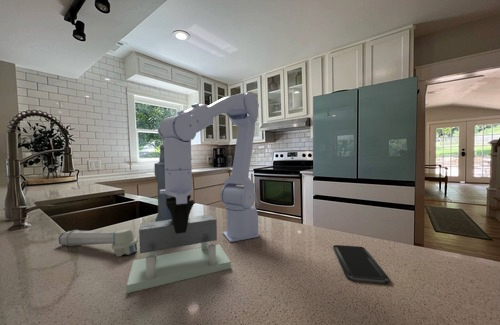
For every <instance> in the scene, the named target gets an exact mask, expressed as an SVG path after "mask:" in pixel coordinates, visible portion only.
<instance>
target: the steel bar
mask: <svg viewBox="0 0 500 325" xmlns="http://www.w3.org/2000/svg"><path fill="white" fill-rule="evenodd" d="M217 228H218V226H217V218H216V217H215V215H214V214H206V215H197V216H189V219H188V225H187V230H186V232H185V233H178V234H176V232H175V229H174V224H173V219H172V220H164V221H156V222H155V221H152V222H151V221H149V222H144V223H142V222H141V223H140V225H139V228H138V234H139V235H138V242H139V254H140V255H141V254H148V253H149V252H153V251H156V252H159V251H163V250H169V249H175V248H180V247H185V246H191V245H197V244H201V243H204V242H214V241H217V240H218V237H217V234H218V233H217V232H218V230H217Z"/></svg>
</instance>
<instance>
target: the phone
mask: <svg viewBox="0 0 500 325" xmlns="http://www.w3.org/2000/svg"><path fill="white" fill-rule="evenodd" d="M332 248H333V249H332V250H333V252H334V254H335V256H336V259H337V262H338V263H339V265H340V267H341V269H342V272H343V274H344V276H345V278H346V279H347V280H348V281H351V282H357V283H366V284H367V283H369V284H375V285H376V284H379V285H389V284H390V277H389V276H388V275H387V274H386V273H385V271H384V270H383V268H381V266H380V264H378V263H377V261H376V260H375V259H374V257H373V256H372V255H371V254H370V252H369V250H367V249H366V248H365V247H363V246H358V245H357V246H355V245H343V244H342V245H341V244H334V245H333V247H332Z"/></svg>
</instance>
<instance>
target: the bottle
mask: <svg viewBox="0 0 500 325" xmlns="http://www.w3.org/2000/svg"><path fill="white" fill-rule="evenodd" d="M159 150H160V151H159V161H158V162H155V163H153V164H154V167H153V168H154V172H153V174H154V177H155V179H156V183H157V214H156V216H155V220H154V222H156V221H164V220H172V215H171V213H170V211H169V209H168V207H167V205H166V201H167V200H166V197H169V196H170V195H167V194H160V190H162V189H165V160H164V147H163V143H162V144H160V145H159Z"/></svg>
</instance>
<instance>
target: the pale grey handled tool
mask: <svg viewBox="0 0 500 325" xmlns="http://www.w3.org/2000/svg"><path fill="white" fill-rule="evenodd" d="M138 242H139V238H136V237H135V236H134V234H133V230H132V229H131V228H124V229H121V230H118V231H117V230H116V231H115V230H114V231H113V230H111V231H110V230H108V231H107V230H106V231H105V230H79V229H74V230H68V231H65V232H62V233H61V234H60V236H59V237H58V244H59V245H61V246H69V247H75V246H89V245H107V244H111V248H112V249H113V252H114V255H116V257H122V256H123V255H131V254H133V253H136V252H137V250H138Z"/></svg>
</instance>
